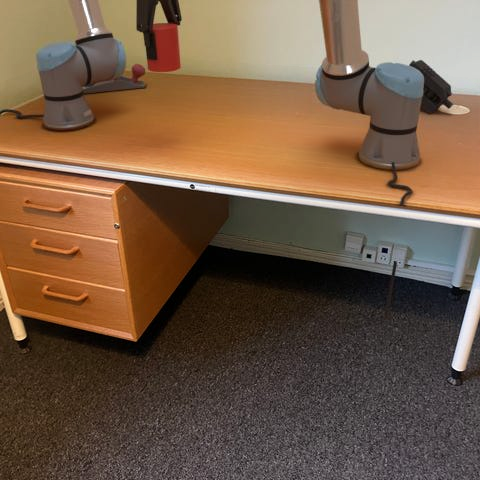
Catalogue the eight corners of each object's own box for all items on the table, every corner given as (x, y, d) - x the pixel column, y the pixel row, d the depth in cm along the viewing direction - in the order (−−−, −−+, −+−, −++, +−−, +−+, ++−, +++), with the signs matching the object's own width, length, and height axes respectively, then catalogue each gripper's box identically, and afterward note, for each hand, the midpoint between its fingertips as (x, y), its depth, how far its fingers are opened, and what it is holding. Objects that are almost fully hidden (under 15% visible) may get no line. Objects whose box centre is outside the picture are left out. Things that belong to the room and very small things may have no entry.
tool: (390, 90, 180) (417, 54, 169) (433, 128, 176) (464, 93, 165) (382, 95, 176) (409, 57, 165) (425, 133, 172) (456, 97, 161)
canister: (184, 64, 142) (181, 23, 137) (175, 72, 135) (172, 29, 130) (153, 63, 144) (149, 22, 138) (143, 71, 137) (138, 29, 131)
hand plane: (62, 90, 197) (53, 48, 189) (145, 82, 205) (140, 41, 197) (62, 96, 191) (54, 53, 184) (148, 87, 199) (143, 45, 191)
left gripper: (138, -39, 117) (149, 66, 129) (191, -46, 132) (197, 48, 144) (111, -40, 120) (125, 63, 132) (167, -47, 136) (174, 46, 147)
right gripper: (410, -92, 150) (399, -10, 161) (414, -92, 129) (402, 3, 140) (438, -93, 148) (425, -10, 159) (447, -93, 128) (432, 3, 139)
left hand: (162, 55), depth 138 cm, fingers closed on canister, 9 cm apart
